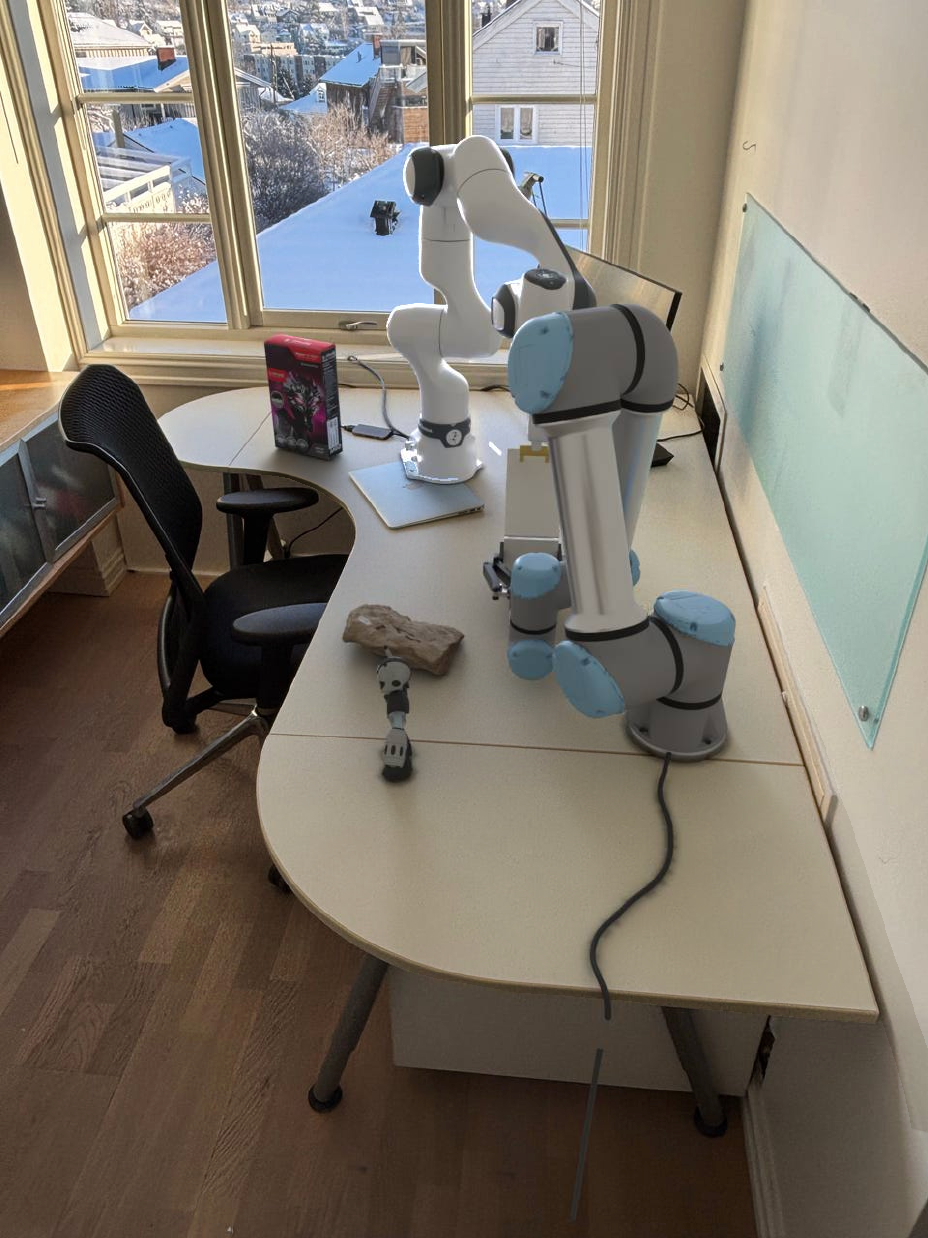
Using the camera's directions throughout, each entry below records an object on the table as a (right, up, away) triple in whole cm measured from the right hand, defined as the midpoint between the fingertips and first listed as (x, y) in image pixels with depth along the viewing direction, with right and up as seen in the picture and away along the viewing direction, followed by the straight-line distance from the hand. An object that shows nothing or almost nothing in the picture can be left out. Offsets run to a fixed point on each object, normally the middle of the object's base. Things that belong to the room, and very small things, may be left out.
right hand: (530, 548), depth 176 cm
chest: (0, -3, +8) cm, 8 cm away
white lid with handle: (0, +10, -3) cm, 11 cm away
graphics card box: (-52, +29, +54) cm, 80 cm away
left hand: (0, +18, -11) cm, 21 cm away
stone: (-24, -19, -16) cm, 35 cm away
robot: (-23, -35, -40) cm, 58 cm away
